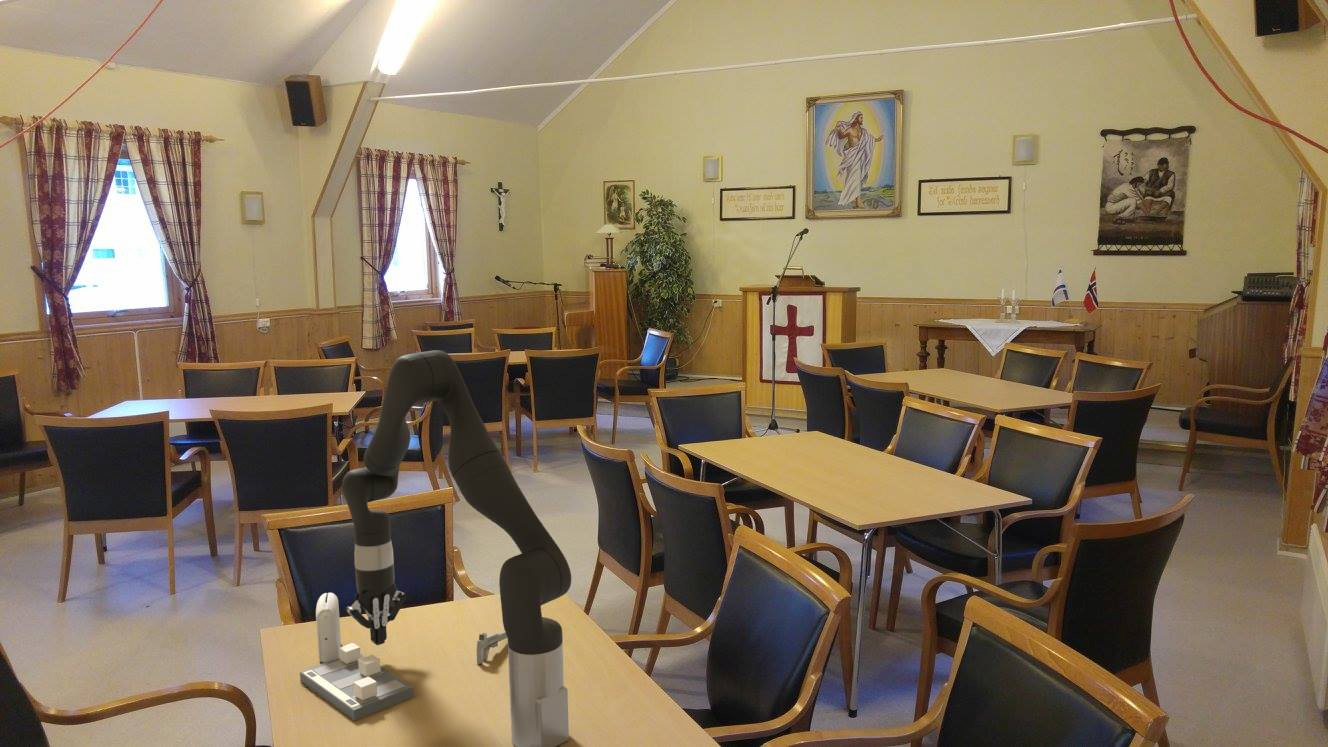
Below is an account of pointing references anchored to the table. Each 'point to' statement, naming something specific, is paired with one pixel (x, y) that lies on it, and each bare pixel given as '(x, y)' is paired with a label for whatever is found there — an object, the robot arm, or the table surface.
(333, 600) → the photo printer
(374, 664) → the middle tab
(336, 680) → the switch board
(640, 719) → the table surface
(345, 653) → the tab
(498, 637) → the caliper
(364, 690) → the tab
